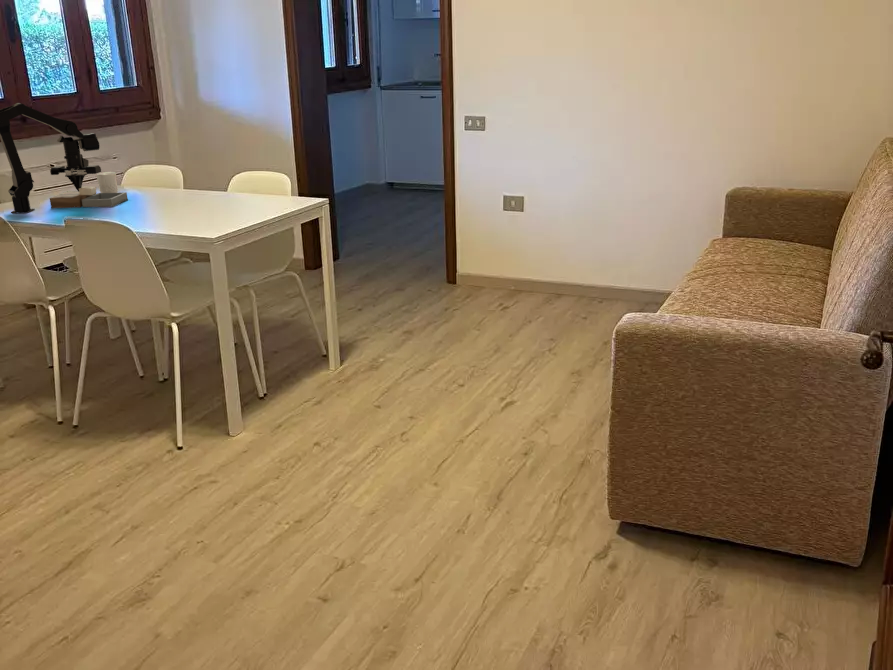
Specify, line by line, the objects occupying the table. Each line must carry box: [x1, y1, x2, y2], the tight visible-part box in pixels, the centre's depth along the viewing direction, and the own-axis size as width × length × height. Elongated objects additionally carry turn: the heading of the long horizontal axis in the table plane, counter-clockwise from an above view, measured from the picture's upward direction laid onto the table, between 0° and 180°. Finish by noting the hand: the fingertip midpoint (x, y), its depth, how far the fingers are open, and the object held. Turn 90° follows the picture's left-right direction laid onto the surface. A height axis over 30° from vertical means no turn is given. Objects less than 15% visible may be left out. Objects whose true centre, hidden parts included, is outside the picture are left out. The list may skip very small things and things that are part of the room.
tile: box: [79, 186, 97, 195], centre depth 340 cm, size 5×5×2 cm
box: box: [82, 191, 128, 208], centre depth 341 cm, size 16×12×3 cm
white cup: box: [96, 171, 119, 193], centre depth 355 cm, size 8×8×10 cm
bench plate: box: [49, 190, 95, 209], centre depth 341 cm, size 16×12×4 cm
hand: (79, 191), depth 340 cm, fingers closed
